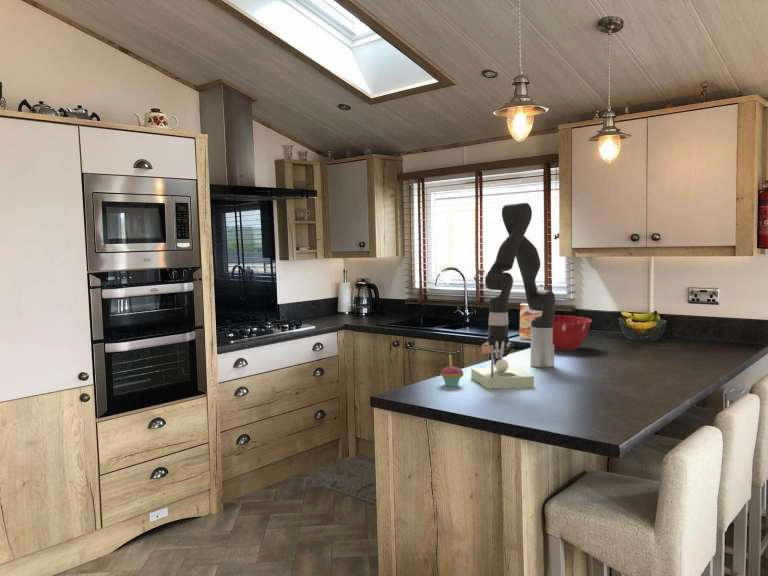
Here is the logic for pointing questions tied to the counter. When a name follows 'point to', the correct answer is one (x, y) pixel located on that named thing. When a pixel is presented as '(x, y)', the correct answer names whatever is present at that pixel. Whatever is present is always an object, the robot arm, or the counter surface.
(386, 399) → the counter surface
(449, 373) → the cupcake
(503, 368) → the ball
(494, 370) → the board
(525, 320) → the coffeecake box
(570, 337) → the mixing bowl
